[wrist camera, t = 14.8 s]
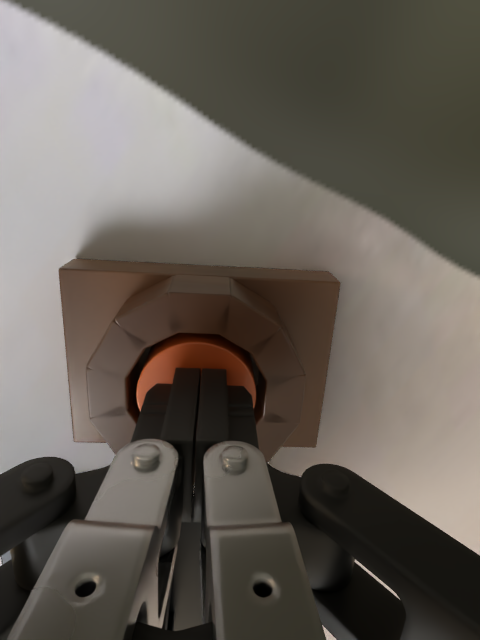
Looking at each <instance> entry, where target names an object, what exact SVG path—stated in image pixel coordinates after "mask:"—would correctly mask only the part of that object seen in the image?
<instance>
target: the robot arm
mask: <svg viewBox="0 0 480 640" xmlns="http://www.w3.org/2000/svg"><path fill="white" fill-rule="evenodd" d="M199 399H200V400H199ZM194 476H195V488H194ZM193 488H194V521H193V522H201V538H200V572H201V602H202V625H198V626H194V627H191V628H187V629H184V630H179V631H170V630H165V629H162V625H163V620H164V615H165V610H166V605H167V600H168V595H169V590H170V585H171V580H172V575H173V570H174V565H175V560H176V555H177V542H178V540H179V537H180V530H181V522H191V512H192V500H193ZM9 550H10V554H11V559H10V560H9V561H8V562H6V563H5V564H3V565H2V566H0V640H326V637H325V634H324V631H323V627H322V625H323V626H324V627H325V628H326V629H327V630H328V631H329V632H330V633H331V634H332V635H333V636H334V637H335V638H336V639H337V640H480V555H478V554H477V553H475V552H473V551H472V550H470V549H469V548H467V547H466V546H464V545H463V544H461V543H460V542H458V541H457V540H455V539H454V538H452V537H451V536H449V535H448V534H446V533H445V532H443V531H442V530H440V529H439V528H437V527H436V526H434V525H433V524H431V523H430V522H428V521H427V520H425V519H424V518H422V517H421V516H419V515H418V514H416V513H415V512H413V511H411V510H410V509H408V508H407V507H405V506H404V505H402V504H401V503H399V502H398V501H396V500H395V499H393V498H392V497H390V496H389V495H387V494H386V493H384V492H383V491H381V490H380V489H378V488H377V487H375V486H374V485H372V484H371V483H369V482H368V481H366V480H365V479H363V478H362V477H360V476H359V475H357V474H356V473H354V472H352V471H351V470H349V469H347V468H344V467H342V466H338V465H334V464H318V465H314V466H312V467H310V468H308V469H307V470H306V471H305V472H304V473H303V475H302V477H298V476H294V475H290V474H287V473H283V472H281V471H279V470H276V469H275V468H273V467H271V466H270V465H269V464H267V463H266V461H265V458H264V455H263V454H262V452H261V451H260V450H259V445H258V438H257V430H256V423H255V417H254V408H253V401H252V395H251V394H250V393H249V392H248V391H247V389H246V388H245V387H244V386H229V385H227V373H226V369H209V368H202V378H201V389H200V368H178V367H176V369H175V373H174V378H173V383H172V384H165V383H157V384H155V385H154V386H153V387H152V388H151V389H150V390H149V391H147V393H146V396H145V399H144V402H143V405H142V408H141V411H140V414H139V417H138V420H137V424H136V427H135V430H134V433H133V436H132V439H131V442H130V443H129V444H127V445H125V446H124V447H122V448H121V449H120V450H119V451H118V452H117V454H116V455H115V457H114V459H113V461H112V463H111V465H109V466H107V467H104V468H101V469H97V470H93V471H88V472H83V473H78V474H75V471H74V467H73V466H72V464H71V463H69V462H68V461H66V460H64V459H61V458H57V457H42V458H36V459H32V460H29V461H26V462H24V463H22V464H20V465H18V466H16V467H14V468H12V469H10V470H8V471H6V472H4V473H2V474H0V557H1V556H2V555H4V554H5V553H6V552H8V551H9ZM355 559H356V560H357V561H359V562H360V563H361V564H362V565H363V566H365V567H366V568H367V569H368V570H369V571H371V572H372V573H373V574H374V575H375V576H377V577H378V578H379V579H380V580H381V581H383V582H384V583H385V584H386V585H387V586H389V587H390V588H391V589H392V590H393V591H394V592H395V593H396V594H397V595H398V597H399V598H400V600H399V599H398V598H397V597H396V596H395V595H393V594H392V593H391V592H390V591H389V590H387V589H386V588H385V587H384V586H383V585H382V584H380V583H379V582H378V581H377V580H376V579H374V578H373V577H372V576H371V575H370V574H368V573H367V572H366V571H365V570H364V569H362V568H361V567H360V566H359V565H358V564H356V563H355V562H354V561H355Z"/></svg>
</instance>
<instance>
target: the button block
mask: <svg viewBox="0 0 480 640" xmlns="http://www.w3.org/2000/svg"><path fill="white" fill-rule="evenodd" d="M59 279H60V291H61V302H62V313H63V325H64V336H65V347H66V359H67V370H68V381H69V393H70V404H71V415H72V427H73V438H74V442H96V443H107V444H108V445H109V446H110V448H111V449H112V450H113V452H114V453H115V454H117V452H118V451H119V450H120V449H121V448H122V447H124V446H125V445H127V444H129V443H130V442H131V439H132V436H133V433H134V430H135V427H136V424H137V420H138V417H139V414H140V410H139V408H138V404H137V397H136V390H137V383H138V380H139V377H140V374H141V371H142V369H143V366H144V363H145V361H146V358H147V355H148V353H149V350H150V349H151V347H152V345H154V344H156V343H158V342H160V341H162V340H164V339H167V338H169V337H171V336H173V335H175V334H177V333H201V334H219V335H221V336H222V337H224V338H226V339H227V340H229V341H231V342H232V343H234V344H236V345H238V346H239V347H241V348H243V349H244V350H246V351H248V352H249V354H250V358H251V361H252V367H253V373H254V380H255V386H256V403H255V407H254V417H255V423H256V430H257V438H258V445H259V450H260V451H261V452H262V454H263V455H264V458H265V461H266V463H268V461H270V460H271V458H272V457H273V456H274V455H275V453H276V452H277V451H278V450H279V449H280V447H312V448H315V447H316V444H317V437H318V431H319V424H320V417H321V411H322V404H323V397H324V391H325V384H326V377H327V370H328V364H329V357H330V350H331V344H332V337H333V330H334V324H335V317H336V310H337V304H338V297H339V290H340V282H339V281H338V280H337V279H336V278H335V277H334V276H333V275H332V274H331V273H330V272H327V271H308V270H288V269H268V268H249V267H229V266H209V265H189V264H170V263H150V262H130V261H111V260H91V259H73V260H71V261H70V262H68V263H67V264H65V265H64V266H62V267H61V268H59ZM194 483H195V476H194Z"/></svg>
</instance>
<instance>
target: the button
mask: <svg viewBox="0 0 480 640" xmlns="http://www.w3.org/2000/svg"><path fill="white" fill-rule="evenodd" d="M176 367H178V368H200V389H201V378H202V368H209V369H226V373H227V385H229V386H244V387H245V388H246V389H247V391H248V392H249V393H250V394H251V395H252V401H253V408H254V407H255V403H256V386H255V380H254V373H253V367H252V361H251V358H250V354H249V352H248V351H246V350H244V349H243V348H241V347H239V346H238V345H236V344H234V343H232V342H231V341H229V340H227V339H226V338H224V337H222V336H221V335H219V334H201V333H177V334H175V335H173V336H171V337H169V338H167V339H164V340H162V341H160V342H158V343H156V344H154V345H152V347H151V349H150V350H149V353H148V355H147V358H146V361H145V363H144V366H143V369H142V371H141V374H140V377H139V380H138V383H137V390H136V397H137V404H138V408H139V410H140V411H141V408H142V405H143V402H144V399H145V396H146V393H147V391H149V390H150V389H151V388H152V387H153V386H154V385H155V384H157V383H165V384H172V383H173V378H174V373H175V369H176ZM199 400H200V399H199Z"/></svg>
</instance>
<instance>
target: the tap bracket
mask: <svg viewBox="0 0 480 640" xmlns="http://www.w3.org/2000/svg"><path fill="white" fill-rule="evenodd" d="M193 521H194V497H193V500H192V512H191V522H181V530H180V537H179V540H178V542H177V555H176V560H175V565H174V570H173V575H172V580H171V585H170V590H169V595H168V600H167V605H166V610H165V615H164V620H163V625H162V629H165V630H170V631H179V630H184V629H187V628H191V627H194V626H198V625H202V602H201V572H200V538H201V522H193ZM1 559H2V565H3V564H5V563H6V562H8V561H9V560H10V559H11V554H10V550H9V551H8V552H6V553H5V554H4V555H2V556H1Z"/></svg>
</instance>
